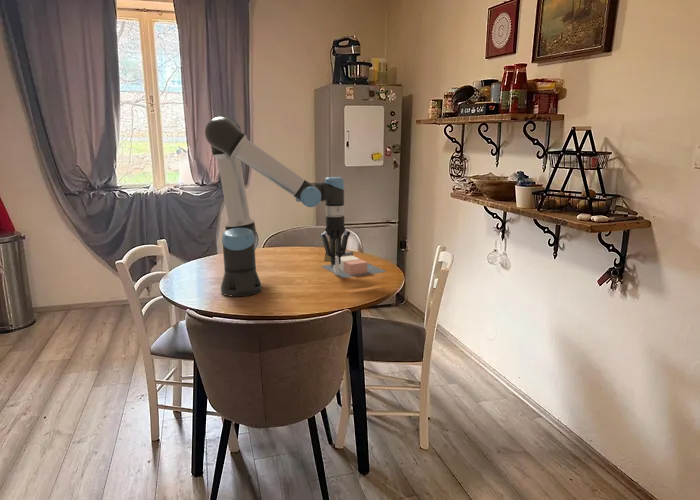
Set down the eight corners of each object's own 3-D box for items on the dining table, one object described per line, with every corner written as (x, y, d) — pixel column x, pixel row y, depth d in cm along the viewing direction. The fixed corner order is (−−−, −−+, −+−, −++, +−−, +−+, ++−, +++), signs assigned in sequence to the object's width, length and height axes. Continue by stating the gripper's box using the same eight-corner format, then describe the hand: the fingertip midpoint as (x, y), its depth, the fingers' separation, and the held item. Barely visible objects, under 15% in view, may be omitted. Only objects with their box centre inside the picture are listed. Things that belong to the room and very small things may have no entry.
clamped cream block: (340, 271, 213) (340, 258, 212) (329, 265, 223) (328, 253, 222) (362, 268, 218) (362, 256, 216) (350, 262, 228) (350, 250, 227)
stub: (350, 275, 208) (350, 264, 207) (344, 272, 213) (344, 261, 212) (367, 272, 211) (367, 262, 210) (361, 269, 216) (361, 259, 215)
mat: (342, 280, 204) (342, 278, 203) (320, 268, 223) (320, 265, 222) (386, 273, 213) (386, 271, 213) (362, 262, 232) (362, 260, 232)
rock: (351, 254, 238) (331, 250, 240) (349, 243, 231) (329, 238, 234) (343, 272, 231) (323, 267, 234) (341, 261, 225) (321, 256, 228)
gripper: (324, 218, 196) (325, 276, 201) (353, 215, 202) (354, 272, 207) (316, 215, 202) (317, 271, 208) (345, 213, 208) (345, 267, 214)
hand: (335, 271), depth 207 cm, fingers closed
